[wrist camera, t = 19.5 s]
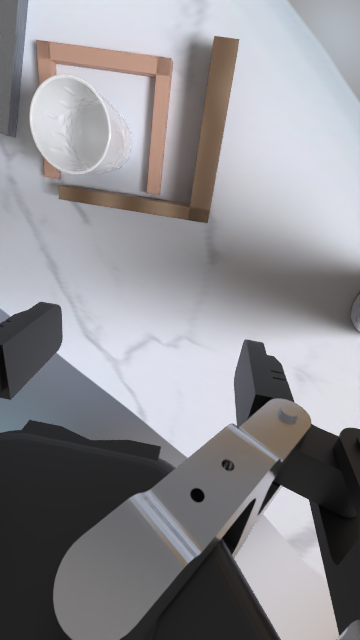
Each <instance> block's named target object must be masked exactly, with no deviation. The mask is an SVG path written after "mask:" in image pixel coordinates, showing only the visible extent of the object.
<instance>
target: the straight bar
mask: <svg viewBox="0 0 360 640" xmlns="http://www.w3.org/2000/svg"><path fill="white" fill-rule="evenodd" d="M27 8H28V0H0V133H2V134H5V135H7V136H12V137H16V128H17V118H18V107H19V96H20V85H21V74H22V63H23V52H24V41H25V30H26V19H27Z"/></svg>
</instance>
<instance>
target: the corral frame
mask: <svg viewBox="0 0 360 640" xmlns="http://www.w3.org/2000/svg"><path fill="white" fill-rule="evenodd" d="M36 41H37V58H38V74H39V86H40V85H41V84H42V83H43V82H44V81H45V80H46V79H48V78H50V77H52V76H55V75H56V64H64V65H71V66H78V67H85V68H92V69H99V70H106V71H114V72H121V73H128V74H135V75H142V76H149V77H156V84H155V96H154V108H153V121H152V133H151V145H150V158H149V170H148V182H147V193H150V194H156V195H160V188H161V178H162V168H163V158H164V148H165V138H166V128H167V118H168V108H169V98H170V88H171V78H172V68H173V61H172V59H171V58H165V57H157V56H150V55H143V54H135V53H128V52H121V51H113V50H106V49H99V48H91V47H84V46H77V45H69V44H62V43H55V42H47V41H40V40H36ZM44 173H45V177H50V178H56V179H60V170H58V169H57V168H55V167H54V166H52V165H51V164H50V163H49V162H48V161H47V160H46V159H45V158H44Z"/></svg>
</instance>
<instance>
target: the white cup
mask: <svg viewBox="0 0 360 640" xmlns="http://www.w3.org/2000/svg"><path fill="white" fill-rule="evenodd" d="M29 121H30V128H31V133H32V136H33V139H34V142H35V144H36V146H37V148H38V150H39V151H40V153H41V154H42V156H43V157H44V158H45V159H46V160H47V161H48V162H49V163H50V164H51V165H52V166H54V167H55V168H57V169H58V170H60V171H62V172H65V173H69V174H93V173H102V172H108V171H112V170H116V169H119V168H121V167H122V166H123V165H124V164H125V163H126V162H127V161H128V159H129V156H130V153H131V150H132V147H133V146H132V132H131V130H130V128H129V126H128V124H127V122H126V120H125V119H124V118H123V117H122V116H121V115H120V114H119V112H118V111H117V110H116V109H115V108H114V107H113V106H112V105H111V104H110V103H109V102H108V101H107V100H106V99H105V98H104V97H103V96H102V95H101V94H100V93H98V92H97V91H96V90H95V89H94V88H93V87H92V86H91V85H90V84H89V83H87V82H86V81H84V80H83V79H81V78H79V77H76V76H73V75H69V74H59V75H55V76H52V77H50V78H48V79H46V80H45V81H44V82H43V83H42V84H41V85H40V86H39V87H38V88H37V90H36V92H35V94H34V96H33V98H32V101H31V105H30V113H29Z"/></svg>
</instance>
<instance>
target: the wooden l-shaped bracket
mask: <svg viewBox="0 0 360 640" xmlns="http://www.w3.org/2000/svg"><path fill="white" fill-rule="evenodd" d="M238 44H239V39H233V38H225V37H218V36H214V42H213V49H212V56H211V63H210V70H209V77H208V84H207V91H206V98H205V105H204V112H203V118H202V125H201V132H200V139H199V146H198V153H197V160H196V167H195V174H194V181H193V188H192V195H191V202H190V204H185V203H179V202H172V201H166V200H160V199H154V198H147V197H141V196H135V195H129V194H122V193H116V192H110V191H104V190H97V189H91V188H85V187H79V186H58V189H59V199H62V200H68V201H74V202H80V203H86V204H93V205H99V206H105V207H111V208H117V209H123V210H130V211H136V212H142V213H148V214H154V215H160V216H167V217H173V218H179V219H185V220H191V221H197V222H204V223H208V218H209V213H210V207H211V201H212V195H213V190H214V184H215V178H216V172H217V167H218V161H219V155H220V149H221V144H222V138H223V132H224V126H225V121H226V115H227V109H228V103H229V98H230V92H231V86H232V80H233V75H234V69H235V63H236V57H237V51H238Z"/></svg>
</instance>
